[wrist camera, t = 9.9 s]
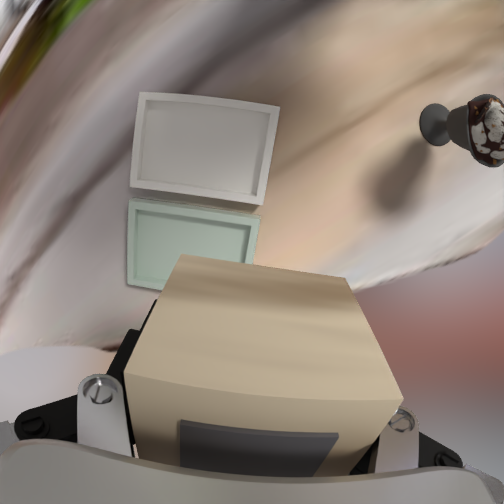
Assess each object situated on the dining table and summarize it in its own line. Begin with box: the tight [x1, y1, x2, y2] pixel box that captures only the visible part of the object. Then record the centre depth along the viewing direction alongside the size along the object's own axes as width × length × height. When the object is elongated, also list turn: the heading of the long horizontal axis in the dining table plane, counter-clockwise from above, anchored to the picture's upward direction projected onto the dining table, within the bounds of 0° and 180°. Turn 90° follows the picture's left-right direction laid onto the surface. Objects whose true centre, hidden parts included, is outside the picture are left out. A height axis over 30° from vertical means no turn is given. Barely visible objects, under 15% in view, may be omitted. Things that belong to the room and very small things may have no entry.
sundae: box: [420, 94, 504, 167], centre depth 23 cm, size 7×7×15 cm
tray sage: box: [127, 198, 260, 290], centre depth 35 cm, size 10×14×2 cm
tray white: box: [129, 92, 280, 205], centre depth 30 cm, size 10×14×2 cm
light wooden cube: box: [124, 254, 404, 477], centre depth 10 cm, size 6×6×6 cm
